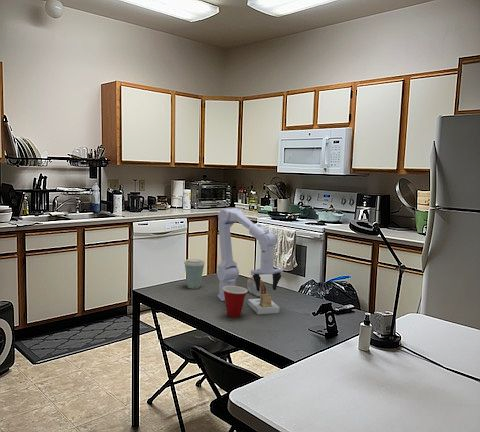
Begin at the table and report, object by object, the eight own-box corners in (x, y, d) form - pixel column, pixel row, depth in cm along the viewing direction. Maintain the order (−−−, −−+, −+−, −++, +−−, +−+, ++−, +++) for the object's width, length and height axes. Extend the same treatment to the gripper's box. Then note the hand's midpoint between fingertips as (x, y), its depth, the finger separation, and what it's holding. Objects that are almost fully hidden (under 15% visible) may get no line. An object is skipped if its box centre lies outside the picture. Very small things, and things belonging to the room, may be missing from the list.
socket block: (248, 304, 204) (248, 299, 204) (268, 303, 207) (268, 298, 207) (257, 314, 191) (258, 308, 191) (279, 312, 194) (279, 307, 194)
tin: (266, 298, 215) (266, 281, 214) (260, 299, 213) (261, 282, 212) (250, 290, 228) (250, 274, 227) (245, 291, 226) (245, 275, 225)
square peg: (259, 309, 198) (260, 294, 197) (267, 308, 199) (268, 293, 198) (262, 312, 194) (263, 297, 193) (271, 311, 195) (271, 296, 194)
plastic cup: (249, 319, 185) (249, 291, 183) (223, 320, 183) (224, 292, 181) (244, 311, 195) (245, 284, 194) (220, 311, 193) (221, 285, 192)
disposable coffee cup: (184, 284, 236) (184, 257, 234) (204, 284, 237) (204, 257, 235) (183, 290, 225) (184, 261, 224) (204, 290, 227) (205, 261, 225)
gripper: (254, 262, 188) (253, 293, 189) (285, 261, 192) (284, 291, 194) (249, 259, 195) (248, 289, 196) (279, 258, 199) (278, 287, 200)
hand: (266, 290), depth 195 cm, fingers open, 7 cm apart
